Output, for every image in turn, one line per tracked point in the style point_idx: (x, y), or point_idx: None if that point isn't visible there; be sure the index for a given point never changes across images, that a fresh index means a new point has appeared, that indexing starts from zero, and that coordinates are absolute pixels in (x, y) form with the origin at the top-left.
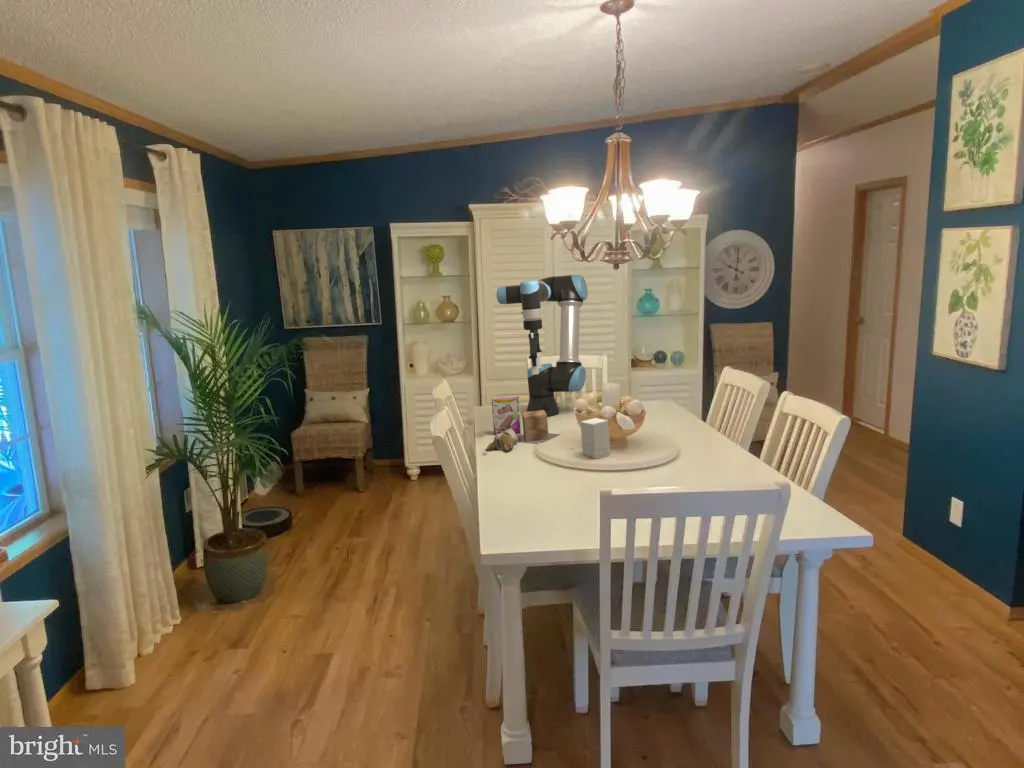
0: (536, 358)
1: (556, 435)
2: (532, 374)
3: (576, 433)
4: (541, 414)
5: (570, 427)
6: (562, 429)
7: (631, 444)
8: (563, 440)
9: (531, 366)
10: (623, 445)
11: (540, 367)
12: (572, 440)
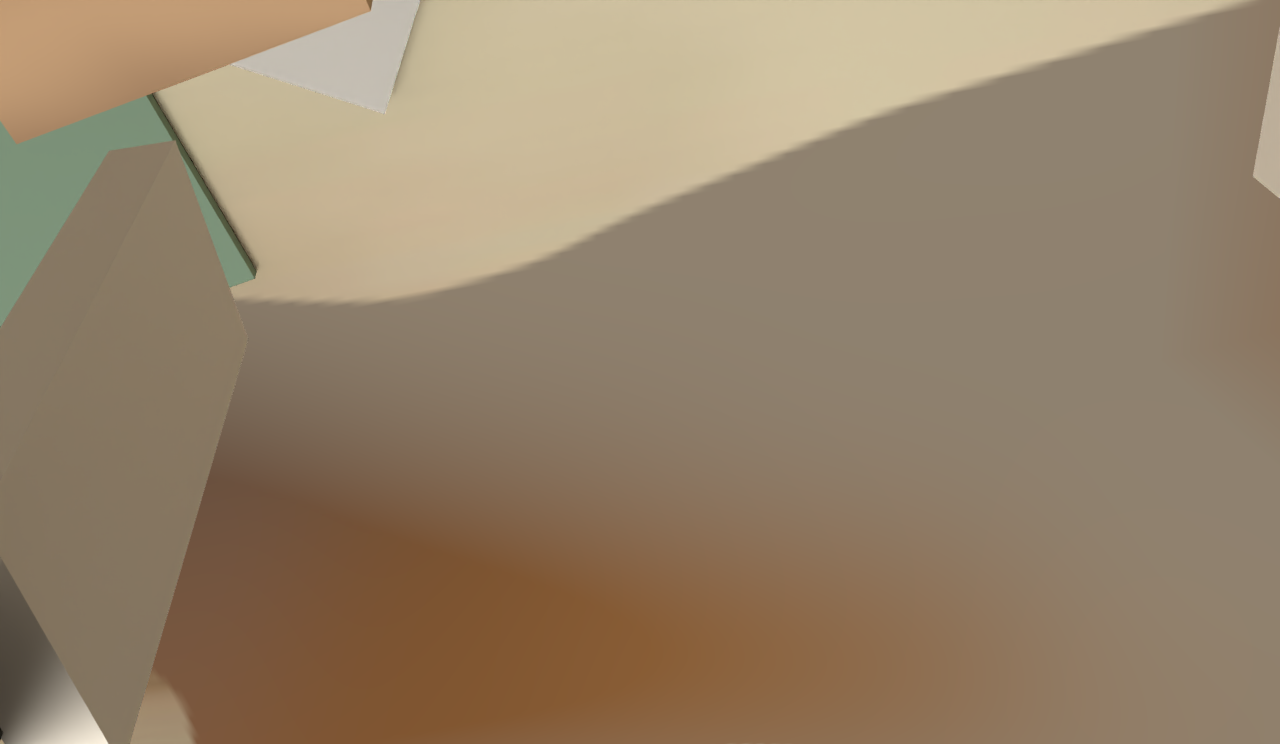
0: (16, 733)
1: (324, 65)
2: (109, 164)
3: (562, 227)
4: (8, 51)
5: (858, 105)
6: (775, 28)
7: (168, 711)
8: (240, 151)
9: (24, 299)
10: None
11: (1272, 164)
12: (250, 246)
